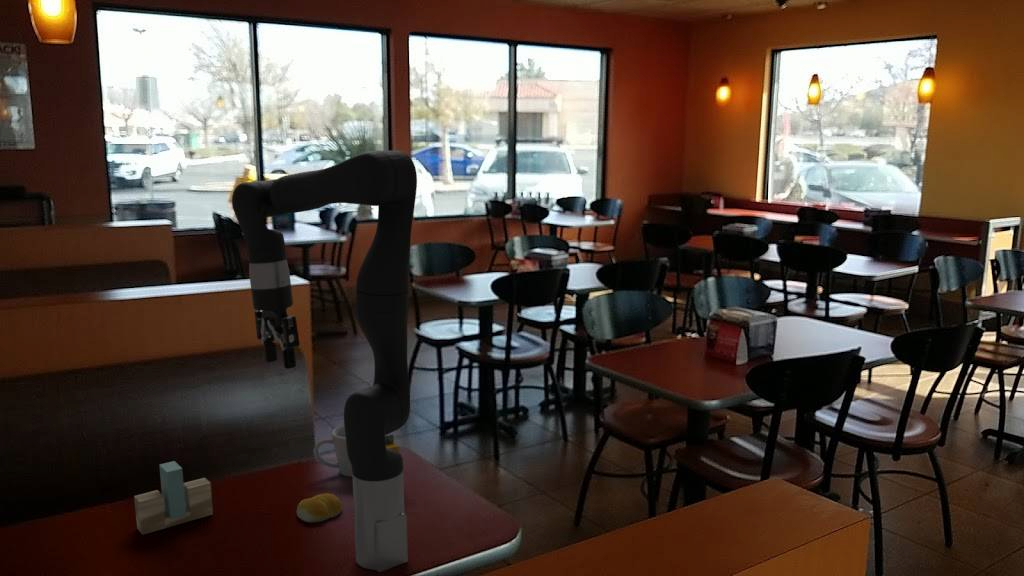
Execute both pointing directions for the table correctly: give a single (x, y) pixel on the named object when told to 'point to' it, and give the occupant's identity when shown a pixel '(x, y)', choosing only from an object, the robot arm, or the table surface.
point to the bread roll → (319, 508)
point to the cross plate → (172, 489)
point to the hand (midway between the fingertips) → (280, 364)
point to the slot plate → (153, 507)
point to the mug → (340, 450)
